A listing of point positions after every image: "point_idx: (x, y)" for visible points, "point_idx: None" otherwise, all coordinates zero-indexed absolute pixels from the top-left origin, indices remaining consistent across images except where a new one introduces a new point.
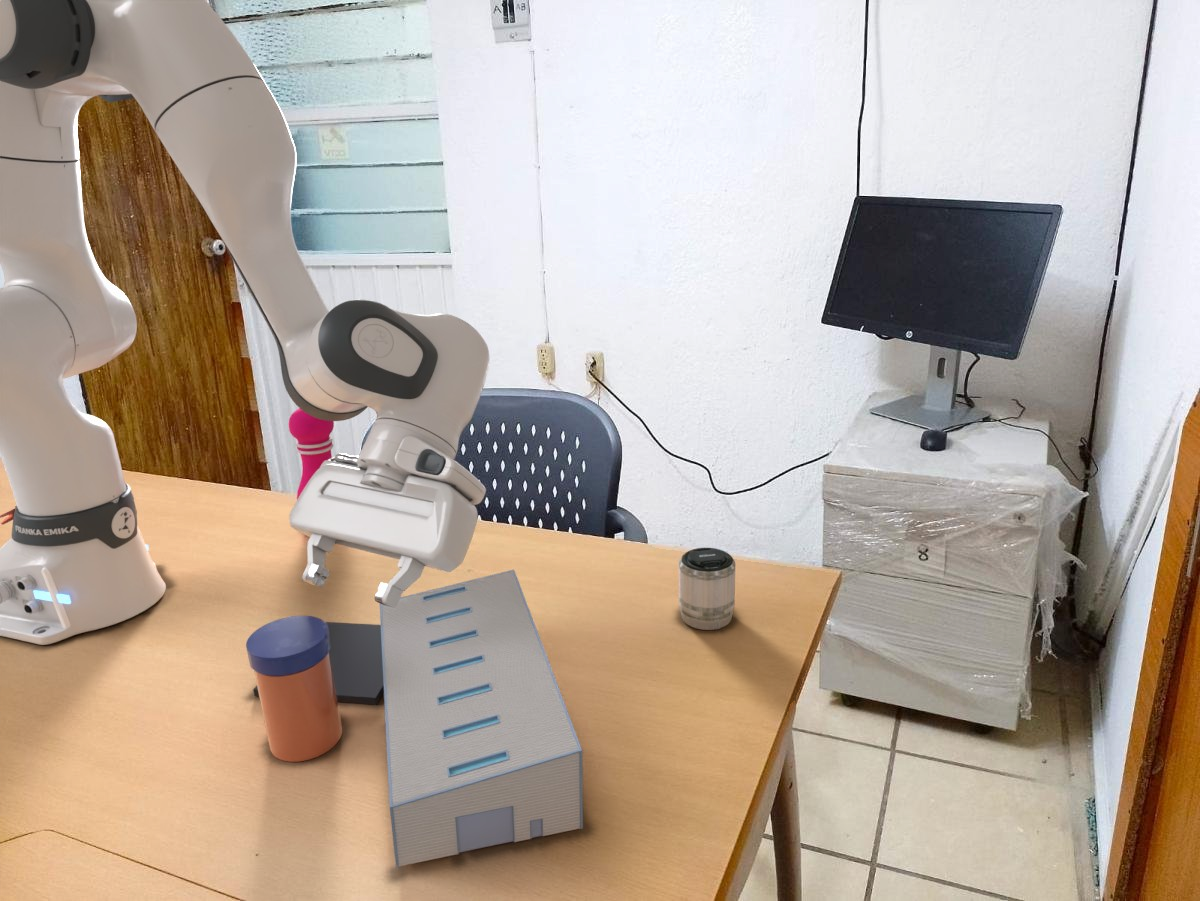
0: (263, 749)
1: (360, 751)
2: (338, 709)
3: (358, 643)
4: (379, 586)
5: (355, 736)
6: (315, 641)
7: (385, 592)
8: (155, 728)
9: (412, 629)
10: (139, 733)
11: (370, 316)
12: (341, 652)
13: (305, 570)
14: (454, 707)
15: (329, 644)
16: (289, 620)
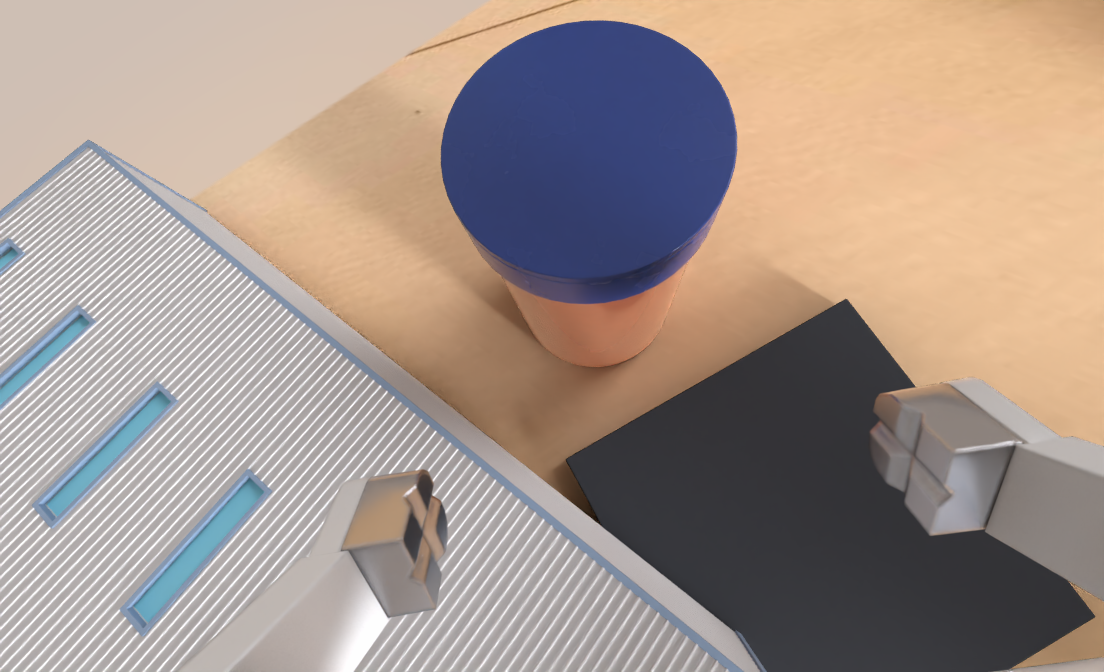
0: None
1: (469, 340)
2: (542, 337)
3: (838, 610)
4: (400, 517)
5: (515, 361)
6: (461, 181)
7: (354, 509)
8: (887, 127)
9: (497, 627)
10: (894, 103)
11: None
12: (830, 543)
13: (1001, 399)
14: (110, 399)
15: (489, 262)
16: (686, 196)
